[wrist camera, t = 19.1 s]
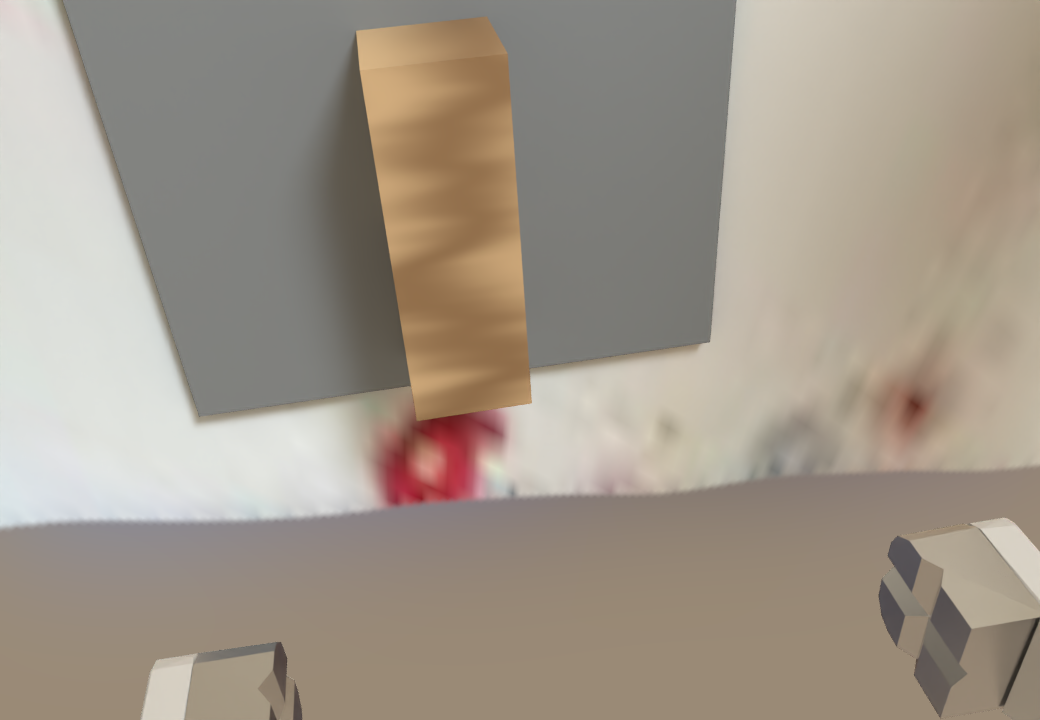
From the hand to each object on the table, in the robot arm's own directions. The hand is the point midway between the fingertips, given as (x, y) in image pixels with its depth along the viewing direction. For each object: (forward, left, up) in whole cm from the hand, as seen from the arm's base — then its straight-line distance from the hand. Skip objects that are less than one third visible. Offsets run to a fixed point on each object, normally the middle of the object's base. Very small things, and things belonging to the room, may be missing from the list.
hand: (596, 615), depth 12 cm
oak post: (0, +10, -19) cm, 21 cm away
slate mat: (0, +3, -22) cm, 22 cm away
